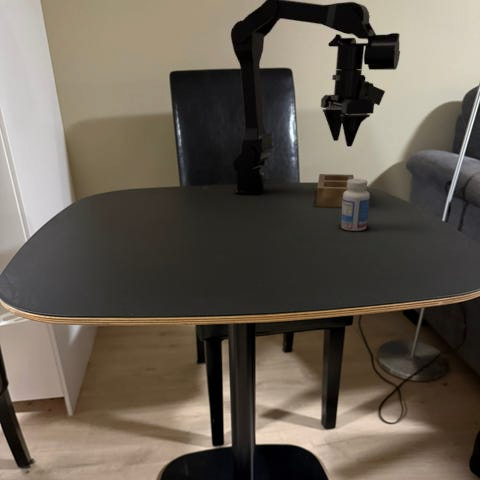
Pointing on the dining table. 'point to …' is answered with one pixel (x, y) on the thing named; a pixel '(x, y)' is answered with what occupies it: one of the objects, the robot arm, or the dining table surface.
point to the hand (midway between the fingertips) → (342, 143)
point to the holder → (331, 189)
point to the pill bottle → (355, 205)
